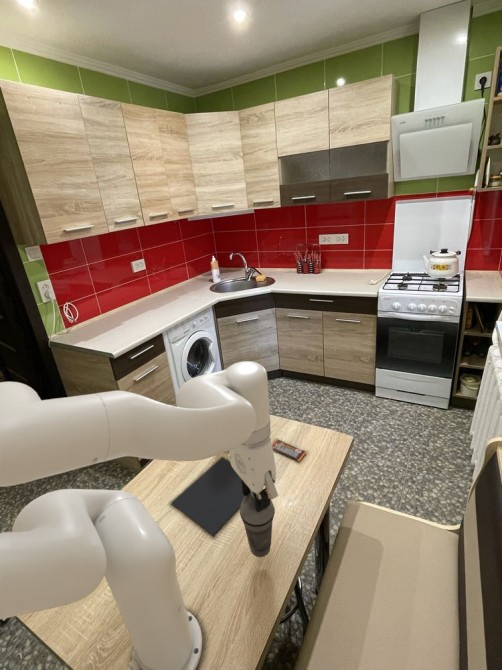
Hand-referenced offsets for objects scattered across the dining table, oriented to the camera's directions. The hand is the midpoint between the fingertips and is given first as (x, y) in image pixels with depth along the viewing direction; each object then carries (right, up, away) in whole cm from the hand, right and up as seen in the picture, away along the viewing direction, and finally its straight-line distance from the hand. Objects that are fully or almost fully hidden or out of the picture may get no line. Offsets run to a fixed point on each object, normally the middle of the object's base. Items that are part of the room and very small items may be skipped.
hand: (256, 499), depth 70 cm
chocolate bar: (+10, -3, +38) cm, 39 cm away
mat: (-10, -10, +25) cm, 29 cm away
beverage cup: (+1, -14, +6) cm, 15 cm away
